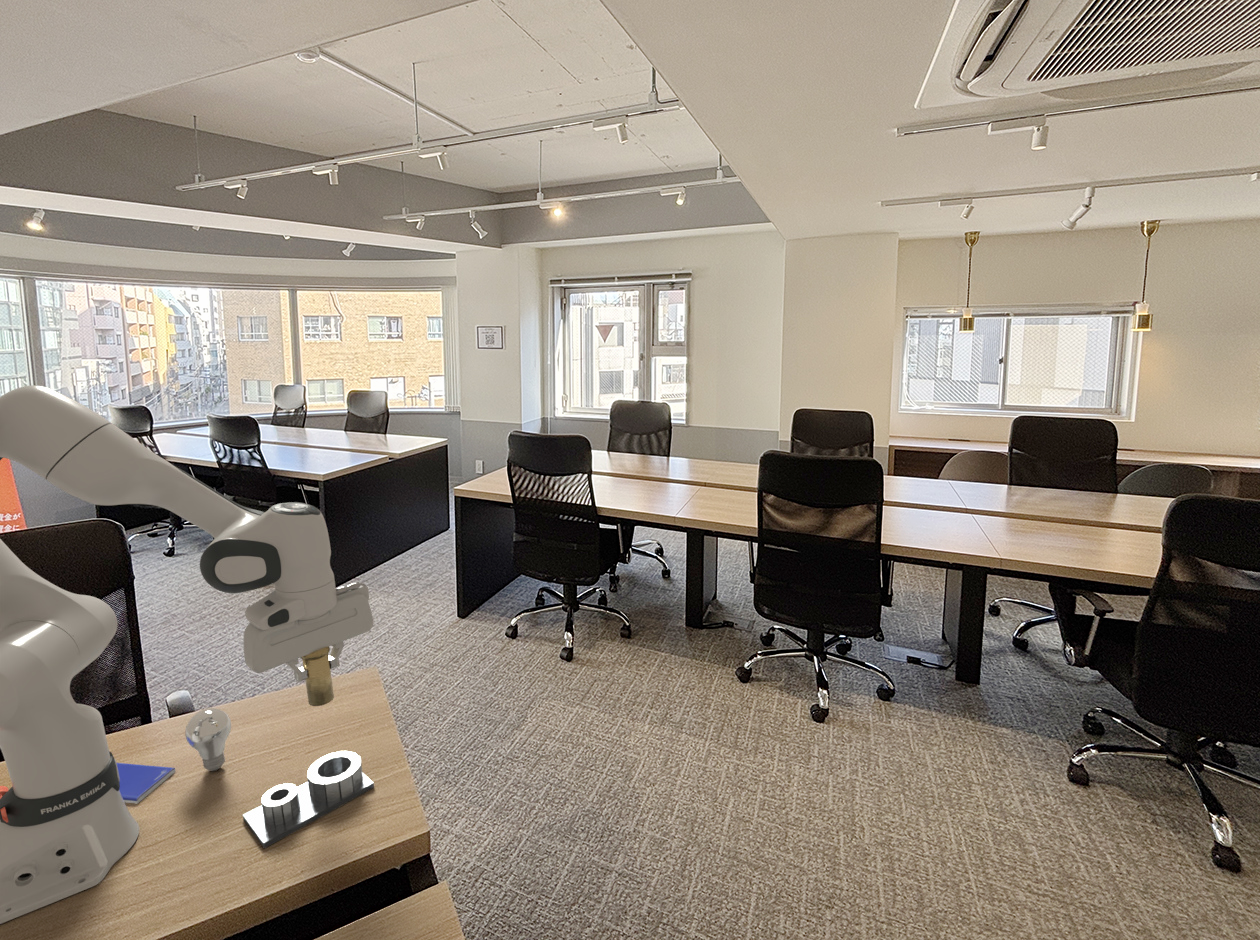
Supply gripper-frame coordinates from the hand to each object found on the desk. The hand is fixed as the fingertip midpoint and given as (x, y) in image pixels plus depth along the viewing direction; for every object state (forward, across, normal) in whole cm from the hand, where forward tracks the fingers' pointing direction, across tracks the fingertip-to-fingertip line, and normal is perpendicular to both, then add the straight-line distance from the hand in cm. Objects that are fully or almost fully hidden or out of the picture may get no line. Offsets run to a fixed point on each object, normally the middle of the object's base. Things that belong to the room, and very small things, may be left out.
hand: (317, 672), depth 110 cm
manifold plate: (+22, +5, +3) cm, 22 cm away
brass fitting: (+5, 0, 0) cm, 5 cm away
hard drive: (+22, +24, -27) cm, 43 cm away
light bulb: (+22, +12, -20) cm, 32 cm away
